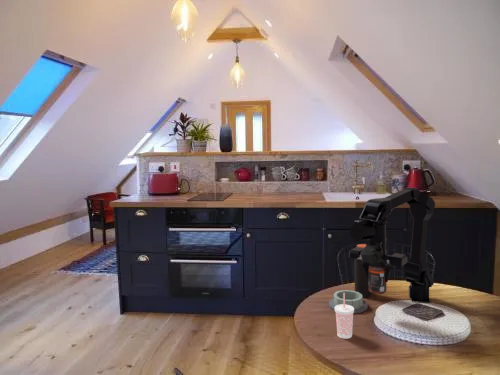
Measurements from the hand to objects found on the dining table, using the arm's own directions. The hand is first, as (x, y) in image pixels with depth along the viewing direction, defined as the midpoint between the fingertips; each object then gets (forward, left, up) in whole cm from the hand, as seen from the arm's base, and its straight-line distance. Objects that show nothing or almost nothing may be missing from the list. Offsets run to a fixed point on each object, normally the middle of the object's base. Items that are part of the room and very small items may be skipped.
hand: (377, 280), depth 137 cm
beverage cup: (+12, +15, -13) cm, 23 cm away
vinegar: (+3, -19, -13) cm, 24 cm away
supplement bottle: (0, 0, -4) cm, 4 cm away
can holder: (+10, -8, -13) cm, 18 cm away
